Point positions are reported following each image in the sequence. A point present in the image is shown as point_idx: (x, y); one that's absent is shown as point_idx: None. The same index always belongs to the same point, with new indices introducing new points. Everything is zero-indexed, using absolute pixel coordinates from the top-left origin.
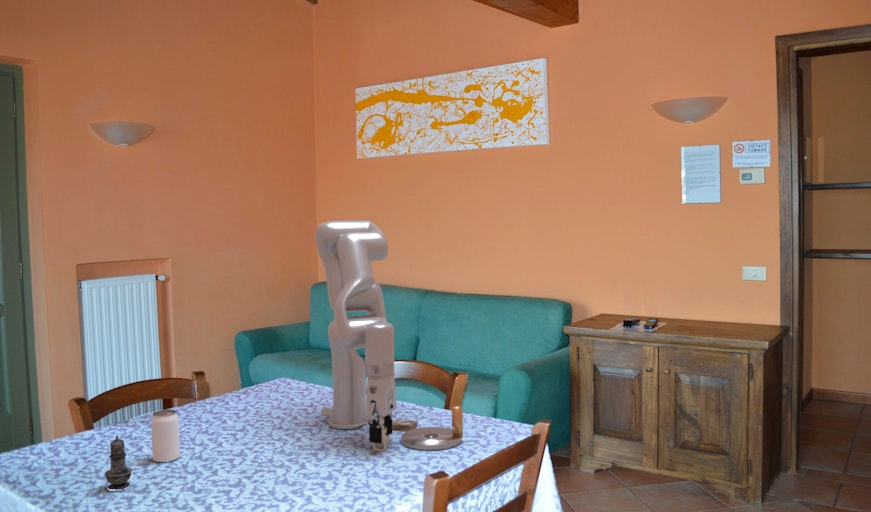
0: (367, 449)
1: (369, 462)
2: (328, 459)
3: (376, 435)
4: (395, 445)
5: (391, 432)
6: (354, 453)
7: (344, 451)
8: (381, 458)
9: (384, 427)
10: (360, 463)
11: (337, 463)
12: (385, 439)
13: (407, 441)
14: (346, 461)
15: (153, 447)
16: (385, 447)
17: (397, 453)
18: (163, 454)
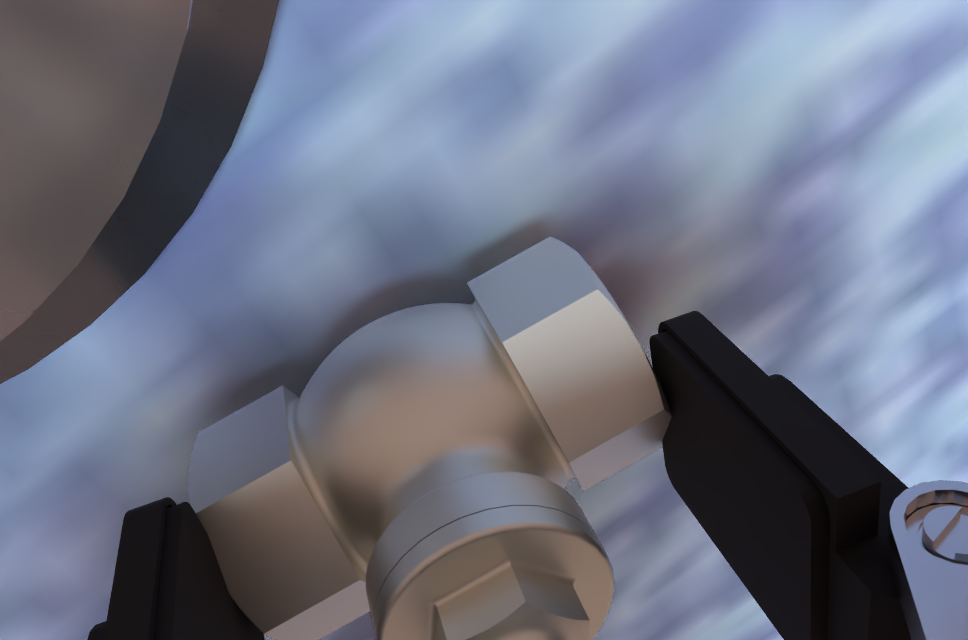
0: None
1: (876, 176)
2: None
3: (830, 422)
4: (109, 342)
5: (162, 515)
6: (654, 503)
7: (637, 604)
8: (704, 141)
9: (441, 599)
10: (924, 243)
11: (955, 422)
12: (493, 372)
13: (137, 49)
14: (891, 398)
15: None
16: (567, 247)
17: (415, 68)
18: None
